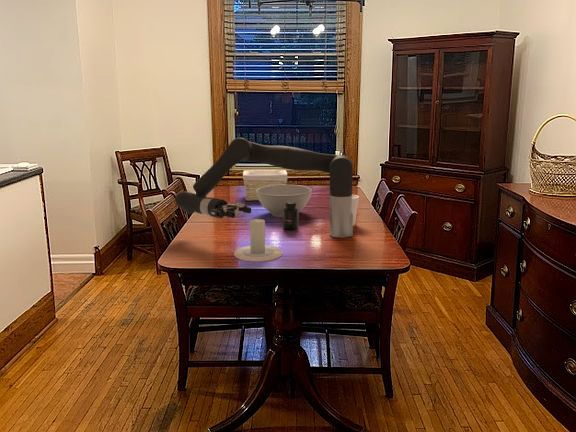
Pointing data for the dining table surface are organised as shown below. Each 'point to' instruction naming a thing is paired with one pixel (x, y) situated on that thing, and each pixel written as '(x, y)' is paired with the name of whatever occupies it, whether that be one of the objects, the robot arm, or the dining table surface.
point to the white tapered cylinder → (257, 236)
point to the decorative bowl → (282, 197)
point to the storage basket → (262, 180)
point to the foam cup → (354, 207)
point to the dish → (269, 254)
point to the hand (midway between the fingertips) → (242, 212)
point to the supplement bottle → (290, 216)
